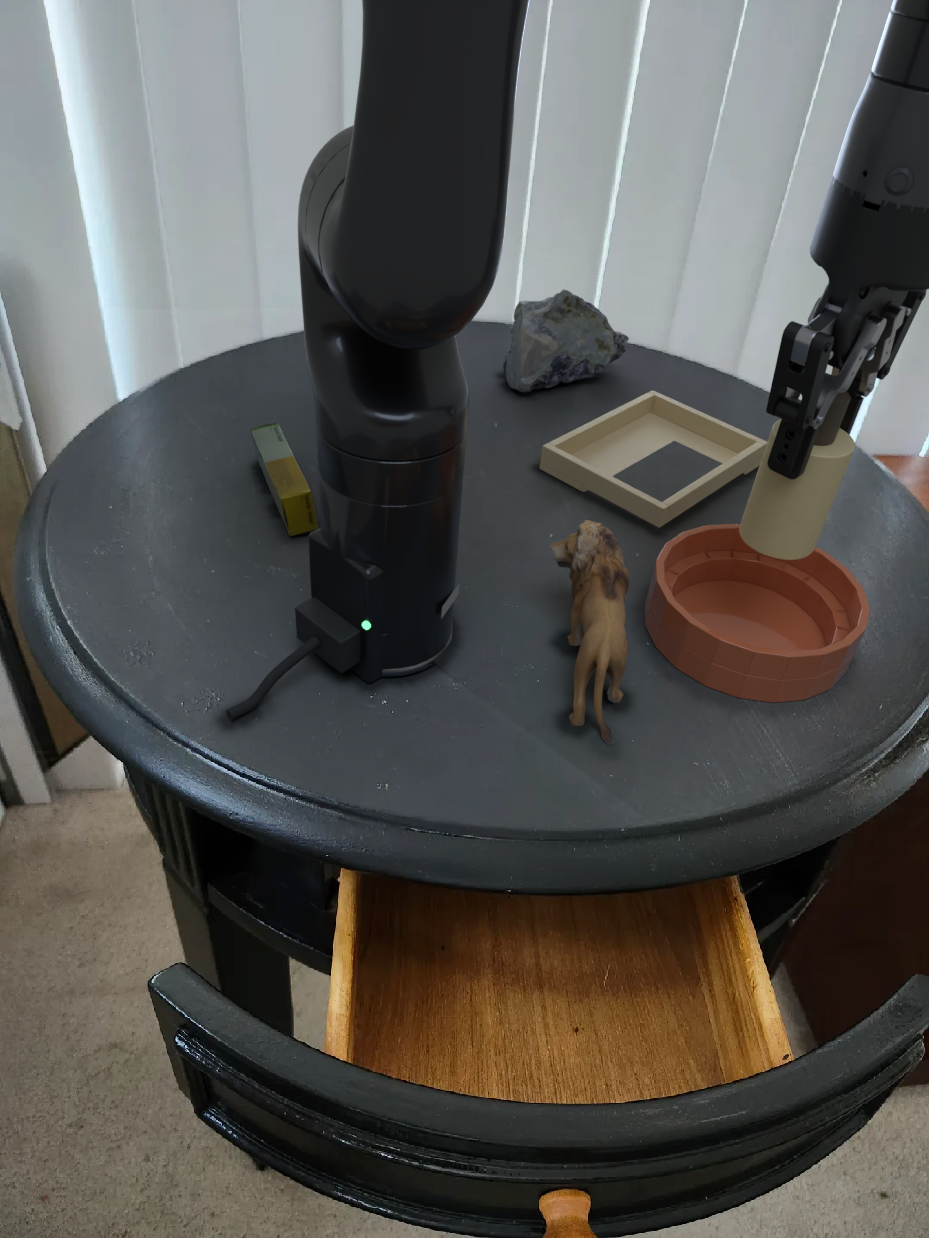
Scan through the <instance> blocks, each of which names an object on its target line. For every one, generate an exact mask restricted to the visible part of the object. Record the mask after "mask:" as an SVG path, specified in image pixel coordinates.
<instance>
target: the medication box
mask: <svg viewBox="0 0 929 1238" xmlns="http://www.w3.org/2000/svg"><path fill="white" fill-rule="evenodd" d="M250 434H251V438H252V442H253V445H254V449H255V453H256V458H257V462H258V466H259V467H260V469H261V472H262V474H263V477H264V480H265V482H266V484H267V486H268V489H269V491H270V493H271V496H272V498H273V500H274V503H275V506H276V508H277V510H278V513H279V515H280V517H281V520H282V522H283V525H284V528H285V529H286V531H287V534H288V536H290V537H293V536H296V535H297V536H298V535H300V534H305V533H308V532H313V531H315V530H317V529H319V525H318V521H317V520H318V519H317V515H316V509H315V504H314V499H313V495H312V490H311V488H310V486H309V484H308V481H307V480H306V478H305V476H304V474H303V472H302V470H301V468H300V466H299V463H298V462H297V459H296V457H295V456H294V455H295V454H293V451H292V449H291V447H290V444H289V443H288V440H287V439H286V436H285V434H284V433H283V431H282V427H281V426H280V425H279V423H278V422H272V423H266V424H262V425H259V426H256V427H252V428H250Z"/></svg>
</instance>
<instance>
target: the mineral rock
mask: <svg viewBox="0 0 929 1238" xmlns="http://www.w3.org/2000/svg"><path fill="white" fill-rule="evenodd" d="M510 334H512V335H511V343H510V346H509V349H508V350H506V352H505V355H504V362H503V368H502V369H503V375H504V377H505V378H506V381H507V384H508V386H509V388H511V389H514V390H517V391H518V392H520V393H530V392H532V391H533V390H538V389H539V390H540V389H542V388H545V389H549V388H553V387H555V386H557V385H559V384H560V383H563V384H569V383H572V382H573V381H576V380H581V379H590V378H592V377H595V376H596V375H599V374H600V373H602V372H603V371H604V370H605V368H607V367H608V366H609V365H610V364H612V363H613V362H615V361H616V360H619V359H620V358H621V357H622V356H623V354H624V353H626V351H627V350H626V345H628V342H629V339H630V338H629V336H627V334H625V333H623V332H621V331H616V330H614V329H613V328H612V325H611V324H610V323H609V319H608V317H607V316H606V315H605V314H604V313H602V311H600V309H599V308H598V307H596V305H594V304H593V303H591V302H588V301H586V300H585V299H584V298H583V297H580V296H578V295H576V294H574V293H572V292H571V291H569V290H568V289H566V288H565V289H564V288H563V289H562V290H561V291H559V292H556V293H555V294H554V295H553V296H549V297H546V298H545V299H543V300H520V301H518V303H517V304H516V307H515V308H514V312H513V324H512V326H511V328H510Z"/></svg>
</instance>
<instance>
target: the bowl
mask: <svg viewBox="0 0 929 1238" xmlns="http://www.w3.org/2000/svg"><path fill="white" fill-rule="evenodd" d="M739 526H740V523H724V524H723V523H722V524H720V523H719V524H705V525H702V526H698V527H695V528H692V529H688V530H685V531H682V532H681V533H679V534H678V535H676V536H675V537H673V538H672V539H670V540H669V541H667V542H665V544H664V546H663V547H662V549H661V551H660V553H659V554H658V556H657V558H656V560H655V564H654V568H653V570H652V575H651V579H650V583H649V587H648V591H647V595H646V598H645V601H644V626H645V629H646V630H647V633H648V634H649V637H650V638H651V640H652V643H653V645H654V646H655V648H656V649H657V651H659V652H660V653H661V655H662V656H663V657H664V658H665V659H666V660H667V661H668V662H669V663H670V664H671V665H672V667H674V668H675V669H677V670H679V671H680V672H681V673H683V674H685V675H686V676H688V677H689V678H691V679H693V680H694V681H696V682H698V683H699V684H701V685H702V686H704V687H707V688H710V689H712V690H715V691H718V692H720V693H724V694H726V695H729V696H732V697H734V698H738V699H742V700H743V699H744V700H750V701H758V702H765V703H774V704H775V703H786V702H796V701H799V702H800V701H805V700H807V699H810V698H812V697H815V696H819V695H820V694H822V693H825V692H827V691H829V690H831V689H832V688H834V686H835V685H836V684H837V683H838V682H839V681H840V680H841V679H842V678H843V677H844V675H846V673H847V670H848V668H849V666H850V664H851V662H852V660H853V658H854V656H855V653H856V651H857V649H858V647H859V645H860V643H861V641H862V639H863V636H864V635H865V633H866V631H867V626H868V623H869V617H870V614H871V607H870V604H869V601H868V598H867V594H866V591H865V589H864V586H862V584H861V583H860V582H859V581H858V580H857V578H856V577H855V576H854V574H853V573H852V572H851V570H850V569H848V567H846V566H845V564H843V563H841V562H840V561H838V560H837V559H836V558H835V557H833V556H832V555H830V554H829V553H828V552H827V551H825V550H824V549H821V548H819V547H818V546H817V545H816V546H815V548H814V550H813V552H812V553H811V554H810V555H809V556H807V557H805V558H802V559H797V560H783V559H777V558H772V557H769V556H766V555H764V554H761V553H759V552H757V551H755V550H754V549H752V548H751V547H749V546H748V545H747V544H746V543H745V542H744V541H743V539H742V538H741V536H740V533H739Z"/></svg>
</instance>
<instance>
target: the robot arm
mask: <svg viewBox="0 0 929 1238" xmlns="http://www.w3.org/2000/svg"><path fill="white" fill-rule="evenodd" d="M361 3H362V5H361V6H362V37H361V38H362V39H361V40H362V42H361V43H362V44H361V55H360V69H359V70H360V71H359V78H358V79H359V80H358V88H357V94H356V95H357V96H356V104H355V113H354V118H353V125H350V126H349V127H346V128H344V129H343V130H341V131H339V132H338V133H337V134H335V135H334V136H333V137H331V138H330V139H329V140H328V141H327V142H326V143H324V145H323V146H322V147H321V148H320V150H318V152H317V154H316V155H315V157H314V158H313V159H312V161H311V163H310V165H309V167H308V169H307V171H306V173H305V175H304V178H303V182H302V185H301V188H300V194H299V200H298V207H297V245H298V264H299V266H298V267H299V278H300V293H301V307H302V308H301V309H302V322H303V323H302V324H303V336H304V349H305V350H304V351H305V358H306V364H307V369H308V375H309V379H310V383H311V384H310V385H311V388H312V393H313V400H314V408H315V409H314V411H315V413H314V414H315V427H316V429H315V430H316V451H317V452H316V454H317V478H318V481H317V482H318V499H319V500H318V505H319V527H318V529H315V530H312V531H310V533H309V534H308V536H307V537H308V538H307V541H308V557H309V558H308V559H309V561H308V563H309V576H310V577H309V578H310V579H309V580H310V597H311V598H309V599H307V600H306V601H304V602H302V603H300V604H298V605H296V606H294V614H295V630H296V631H295V632H296V638H297V639H298V640H299V641H300V642H302V643H303V644H302V645H301V646H299V647H298V648H297V649H295V650H294V651H293V652H292V653H290V654H289V655H288V656H287V657H285V658H284V659H283V660H282V661H281V662H279V663H278V664H276V666H275V667H274V668H273V669H271V671H270V672H269V673H268V674H267V675H266V676H265V677H264V678H263V680H262V681H261V682H260V684H259V685H258V687H257V688H256V690H254V692H253V693H252V694H251V695H250V696H249V697H248V698H246V700H244V701H242V702H240V703H238V704H236V705H234V706H231V707H229V708H227V709H226V710H225V713H226V715H227V718H229V719H230V720H231V721H233V720H234V719H237V718H238V717H241V716H243V715H245V714H247V713H249V712H251V711H252V710H253V709H255V708H256V707H257V706H258V705H259V704H261V703H262V701H263V700H264V699H265V698H266V697H267V695H268V694H269V692H270V691H271V690H272V688H273V687H274V686H275V685H276V683H277V682H278V681H279V680H281V678H282V677H284V675H285V674H287V673H288V672H289V671H290V670H291V669H292V668H294V667H295V666H296V665H297V664H299V663H300V662H301V661H302V660H304V659H305V658H306V657H307V656H309V655H310V654H311V653H313V652H314V653H315V654H316V655H318V656H319V657H320V658H322V659H323V661H325V662H326V663H328V664H329V665H330V666H332V668H334V669H335V670H336V671H338V672H339V673H340V674H343V673H344V672H346V671H348V670H350V671H352V672H353V673H354V674H355V675H357V676H358V677H359V678H361V679H362V680H363V681H365V682H366V683H369V684H371V683H373V682H375V681H376V680H378V679H380V678H382V677H384V678H385V677H401V676H408V675H412V674H415V673H419V672H422V671H424V670H426V669H429V668H430V667H432V666H434V665H435V664H436V662H435V661H437V660H438V659H439V658H440V657H441V656H443V654H444V653H445V652H447V649H448V648H449V646H450V645H451V642H452V640H453V632H454V623H453V619H454V618H453V617H454V615H453V614H454V605H455V604H454V603H455V600H456V599H457V598H458V597H459V595H460V586H461V582H458V584H457V585H456V577H457V576H456V575H457V564H458V563H457V562H458V561H457V560H458V549H459V534H460V523H461V509H462V498H463V497H462V495H463V483H464V474H465V473H464V471H465V461H466V460H465V458H466V447H467V436H468V435H467V433H468V425H469V424H468V423H469V414H470V413H469V411H470V390H469V384H468V381H467V376H466V373H465V370H464V367H463V363H462V360H461V355H460V351H459V346H458V340H457V335H458V334H459V333H460V332H461V331H462V330H463V329H465V327H467V326H468V325H469V324H470V323H471V322H472V321H473V320H474V319H475V317H476V316H477V314H478V313H479V312H480V310H481V308H482V307H483V306H484V304H485V303H486V301H487V298H488V297H489V294H490V293H491V291H492V289H493V286H494V283H495V281H496V278H497V275H498V272H499V269H500V265H501V261H502V254H503V248H504V242H505V232H506V221H507V212H508V209H507V208H508V198H509V197H508V196H509V184H510V169H511V158H512V157H511V156H512V144H513V135H514V120H515V111H516V99H517V89H518V88H517V87H518V79H519V78H518V77H519V70H520V61H521V55H522V47H523V41H524V40H523V39H524V33H525V27H526V23H527V18H528V17H527V16H528V11H529V5H530V0H361ZM848 122H849V123H848V126H847V127H846V130H845V133H844V138H843V140H842V143H841V147H840V150H839V153H838V156H837V159H836V162H835V166H834V169H833V172H832V175H831V178H830V181H829V185H828V188H827V191H826V194H825V198H824V200H823V203H822V206H821V210H820V213H819V216H818V220H817V223H816V226H815V229H814V232H813V235H812V239H811V242H810V244H809V255H810V257H811V260H813V262H814V264H816V265H817V266H818V267H821V268H822V269H823V270H824V272H825V274H826V275H827V278H828V284H827V285H826V286H825V288H824V290H823V292H822V294H821V296H820V297H818V299H817V300H816V301H815V303H814V305H813V308H812V310H811V311H810V314H809V315H808V318H807V324H802V323H799V322H796V321H795V320H791V321H789V322H788V323H787V325H786V326H785V328H784V329H783V331H782V335H781V340H780V344H779V348H778V354H777V358H776V362H775V367H774V371H773V376H772V381H771V385H770V391H769V395H768V398H767V404H766V410H765V412H766V414H768V415H771V416H772V417H776V418H779V419H782V420H781V422H780V425H779V428H778V431H777V434H776V437H775V440H774V443H773V446H772V449H771V452H770V455H769V458H768V461H767V465H768V467H769V469H770V470H772V471H774V472H776V473H778V474H780V475H782V476H785V477H787V478H789V479H796V478H798V477H799V476H800V475H802V474H803V473H804V470H805V468H806V465H807V462H808V459H809V457H810V454H811V451H812V449H813V446H814V443H815V441H816V438H817V435H818V432H819V430H820V427H821V426H820V425H821V424H822V423H823V421H824V418H825V415H826V414H827V412H828V410H829V408H830V406H831V404H832V402H833V400H834V398H835V396H836V395H837V394H839V393H844V392H848V393H849V395H850V397H851V399H850V402H849V404H848V407H847V410H846V412H845V415H844V417H843V420H842V423H841V425H840V428H841V429H842V430H844V431H845V432H847V433H848V434H849V435H850V434H851V432H852V429H853V427H854V424H855V422H856V420H857V417H858V415H859V411H860V410H861V406H862V404H863V401H864V399H865V398H867V397H868V396H869V395H870V394H871V393H873V391H874V389H875V387H876V386H875V384H876V381H877V379H878V380H881V381H882V380H884V379H885V378H886V376H888V375H889V373H890V371H891V368H892V366H893V363H894V362H895V359H896V358H897V354H898V353H899V350H900V349H901V346H902V344H903V342H904V340H905V338H906V337H907V334H908V331H909V330H910V328H911V325H912V323H913V321H914V319H915V317H916V315H917V313H918V310H919V308H920V306H921V305H922V302H923V301H924V299H925V298H926V295H927V291H928V290H929V0H893V1H892V3H891V6H890V10H889V13H888V16H887V18H886V22H885V25H884V28H883V31H882V34H881V37H880V40H879V44H878V47H877V50H876V52H875V56H874V58H873V63H872V66H871V72H870V73H869V75H868V77H867V80H866V83H865V85H864V87H863V90H862V92H861V95H860V96H859V99H858V101H857V103H856V105H855V108H854V110H853V112H852V115H851V117H850V119H849V121H848ZM828 366H830V367H832V369H831V373H828V372H827V369H828ZM821 387H822V393H821V395H820V391H821ZM819 395H820V397H819ZM800 397H801V399H800ZM850 436H851V435H850Z"/></svg>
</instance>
